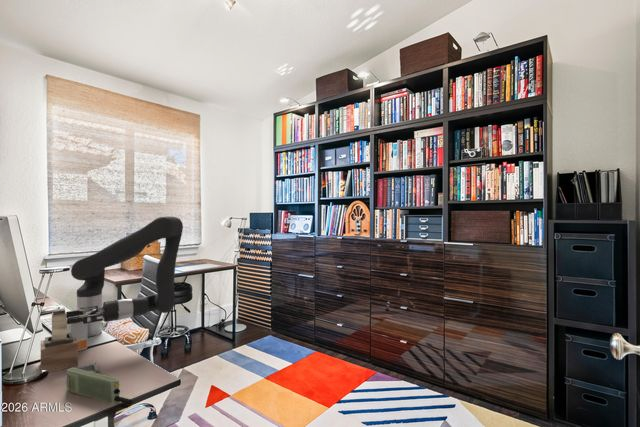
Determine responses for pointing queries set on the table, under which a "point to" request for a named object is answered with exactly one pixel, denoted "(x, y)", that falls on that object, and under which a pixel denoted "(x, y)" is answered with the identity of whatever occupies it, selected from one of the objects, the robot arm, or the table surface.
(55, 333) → the beech plug
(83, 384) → the handheld radio
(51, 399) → the table surface
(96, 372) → the low socket
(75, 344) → the walnut dock
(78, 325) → the skincare box
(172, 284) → the robot arm
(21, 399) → the table surface
